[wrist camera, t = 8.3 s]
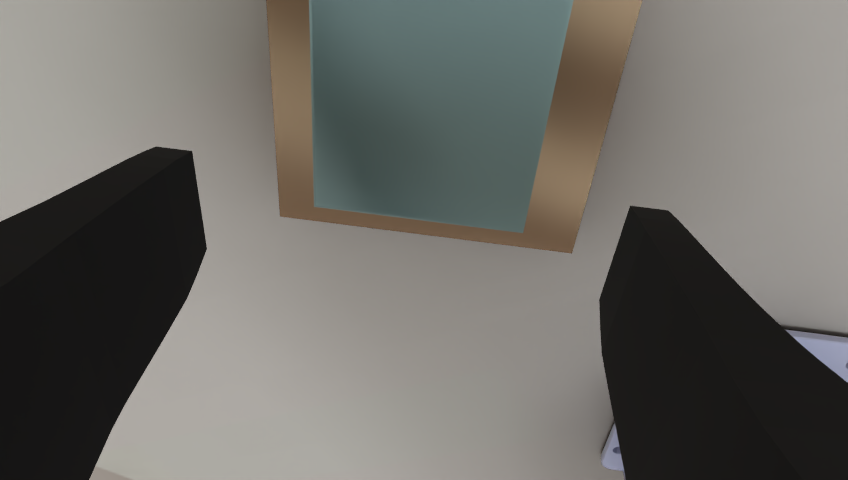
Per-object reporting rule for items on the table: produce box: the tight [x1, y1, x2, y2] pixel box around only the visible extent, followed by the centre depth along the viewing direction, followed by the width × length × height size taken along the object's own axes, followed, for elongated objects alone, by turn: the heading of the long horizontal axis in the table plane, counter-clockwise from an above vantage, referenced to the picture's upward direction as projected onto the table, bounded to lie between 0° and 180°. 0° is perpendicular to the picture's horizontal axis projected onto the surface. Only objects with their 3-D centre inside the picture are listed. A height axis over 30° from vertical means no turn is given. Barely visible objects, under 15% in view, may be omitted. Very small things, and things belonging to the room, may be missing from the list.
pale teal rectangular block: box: [309, 0, 573, 233], centre depth 16 cm, size 6×5×5 cm
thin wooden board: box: [266, 0, 642, 253], centre depth 19 cm, size 14×10×1 cm
